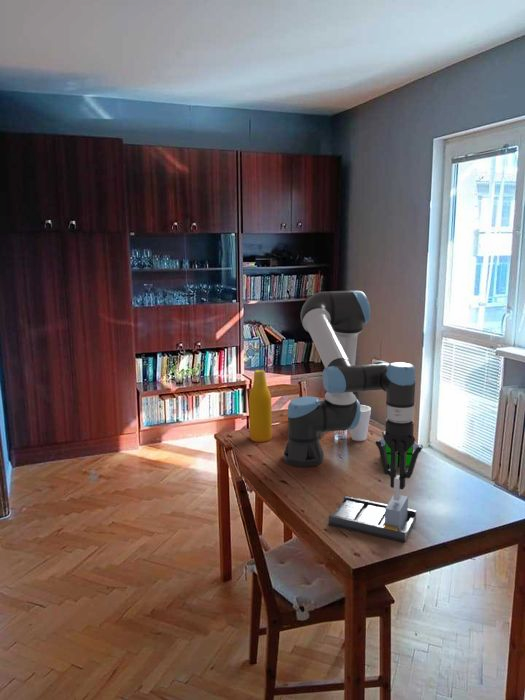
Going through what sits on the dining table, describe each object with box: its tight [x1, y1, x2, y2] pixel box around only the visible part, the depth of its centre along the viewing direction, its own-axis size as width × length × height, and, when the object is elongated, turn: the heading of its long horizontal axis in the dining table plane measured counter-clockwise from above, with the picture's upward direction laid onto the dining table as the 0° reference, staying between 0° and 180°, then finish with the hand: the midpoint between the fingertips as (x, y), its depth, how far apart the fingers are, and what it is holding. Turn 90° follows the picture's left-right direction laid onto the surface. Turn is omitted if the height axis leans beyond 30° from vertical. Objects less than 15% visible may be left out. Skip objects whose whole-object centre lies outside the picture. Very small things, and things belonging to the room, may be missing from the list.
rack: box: [328, 495, 417, 543], centre depth 162 cm, size 22×14×4 cm, turn 63°
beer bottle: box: [248, 369, 273, 443], centre depth 229 cm, size 9×9×29 cm
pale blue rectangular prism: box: [385, 494, 409, 530], centre depth 158 cm, size 4×10×7 cm, turn 153°
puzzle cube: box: [381, 430, 414, 467], centre depth 205 cm, size 10×10×10 cm
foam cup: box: [349, 404, 372, 442], centre depth 229 cm, size 10×9×13 cm
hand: (397, 498), depth 157 cm, fingers closed
